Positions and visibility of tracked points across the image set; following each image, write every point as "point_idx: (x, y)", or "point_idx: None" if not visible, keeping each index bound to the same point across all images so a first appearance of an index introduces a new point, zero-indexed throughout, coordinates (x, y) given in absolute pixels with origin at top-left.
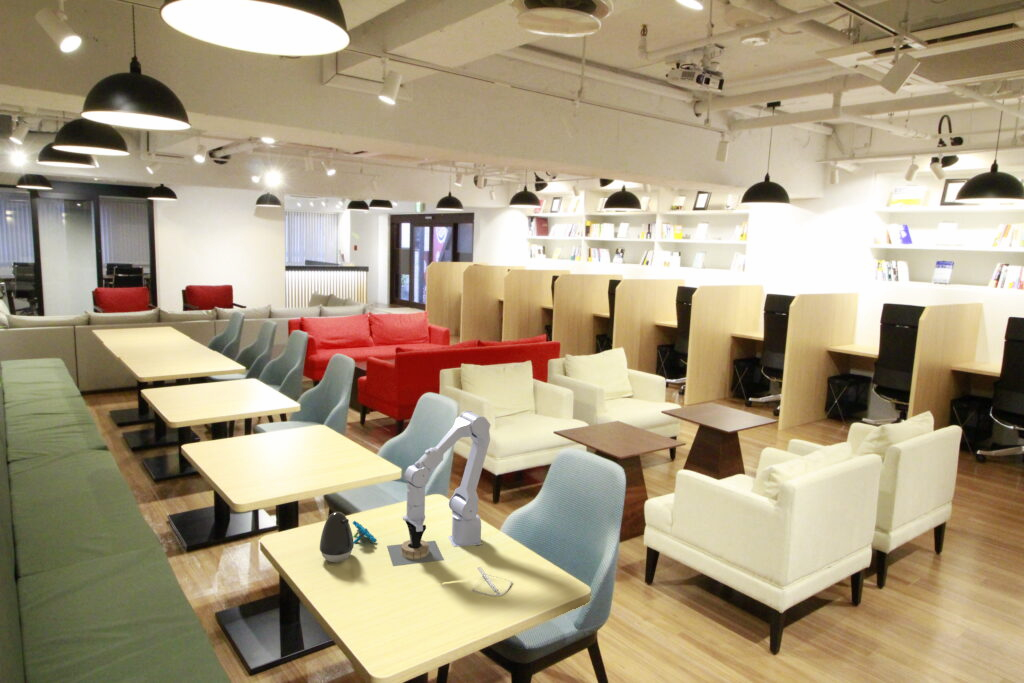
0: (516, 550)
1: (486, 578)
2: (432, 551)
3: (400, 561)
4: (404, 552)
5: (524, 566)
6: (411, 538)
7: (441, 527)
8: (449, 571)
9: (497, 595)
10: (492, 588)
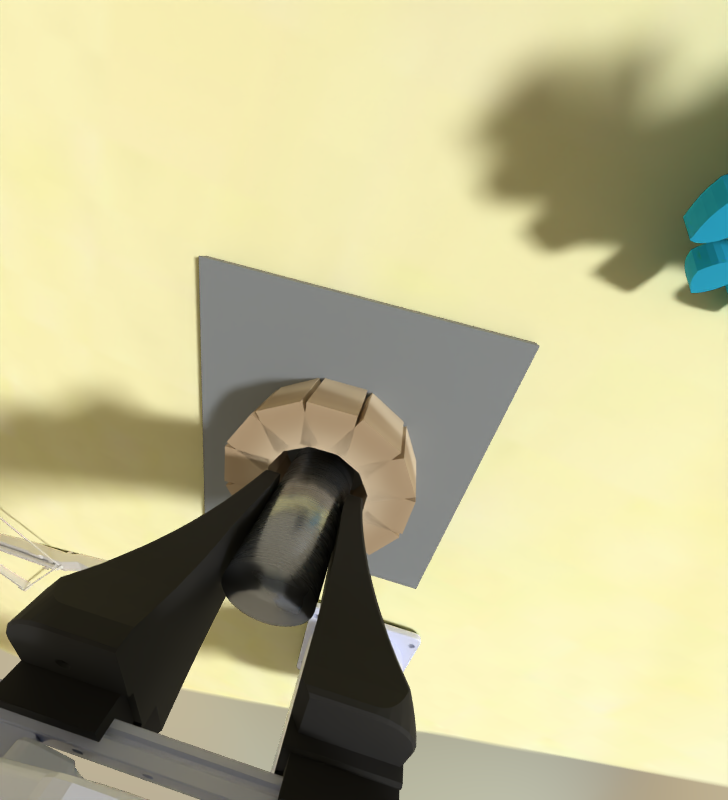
0: (227, 688)
1: (30, 553)
2: None
3: (249, 333)
4: (287, 395)
5: None
6: (231, 511)
7: (547, 666)
8: (118, 491)
9: None
10: None
